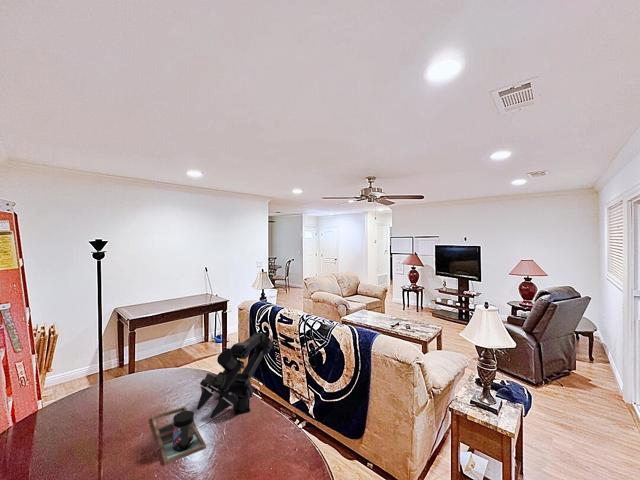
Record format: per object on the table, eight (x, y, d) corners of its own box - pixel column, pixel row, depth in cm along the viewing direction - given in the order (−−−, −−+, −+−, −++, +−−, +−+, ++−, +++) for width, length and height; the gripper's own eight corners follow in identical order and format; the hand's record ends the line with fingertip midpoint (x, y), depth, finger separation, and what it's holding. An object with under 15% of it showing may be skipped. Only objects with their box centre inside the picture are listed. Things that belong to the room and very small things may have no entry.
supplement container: (175, 440, 103) (176, 411, 103) (195, 438, 104) (196, 409, 105) (169, 453, 96) (170, 422, 97) (190, 451, 98) (191, 420, 98)
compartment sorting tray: (151, 418, 116) (151, 416, 116) (185, 408, 124) (185, 406, 124) (164, 465, 92) (164, 461, 92) (205, 448, 100) (206, 445, 100)
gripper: (204, 358, 117) (177, 396, 108) (231, 370, 106) (203, 414, 97) (221, 371, 123) (196, 408, 114) (248, 384, 112) (223, 426, 103)
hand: (204, 413), depth 107 cm, fingers open, 9 cm apart
